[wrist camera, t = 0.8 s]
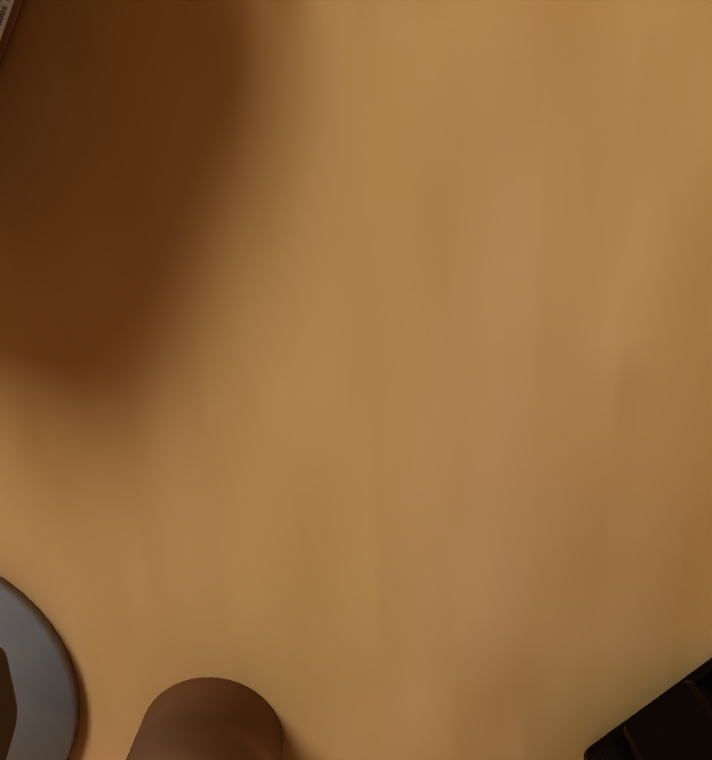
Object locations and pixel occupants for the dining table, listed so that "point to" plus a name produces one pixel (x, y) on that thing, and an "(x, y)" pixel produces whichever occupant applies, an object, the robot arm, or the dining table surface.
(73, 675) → the coaster
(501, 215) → the dining table surface
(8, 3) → the tin
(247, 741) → the pepper mill
